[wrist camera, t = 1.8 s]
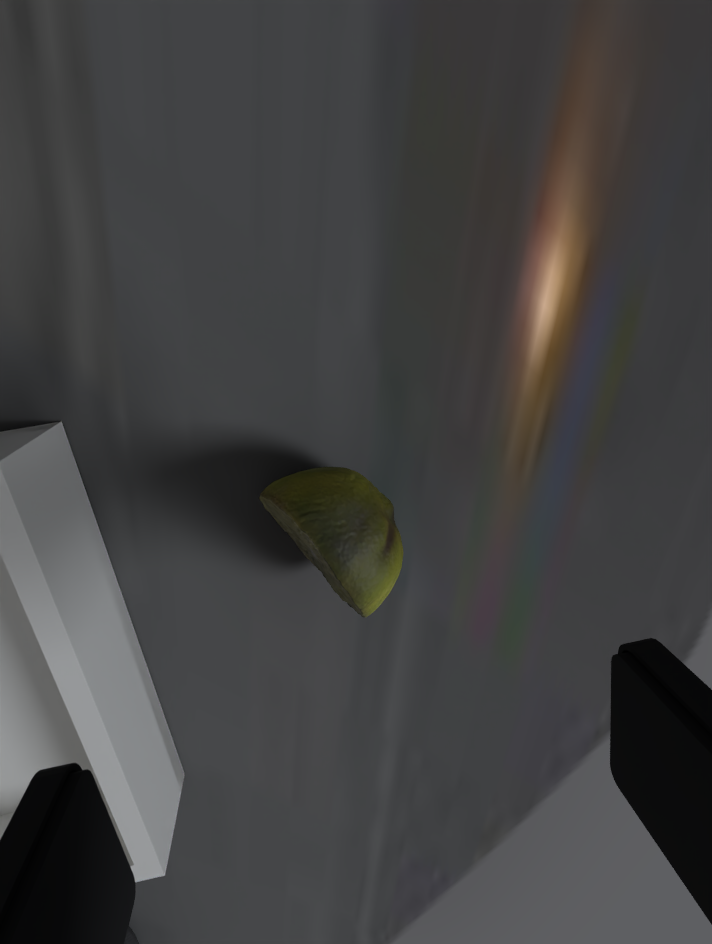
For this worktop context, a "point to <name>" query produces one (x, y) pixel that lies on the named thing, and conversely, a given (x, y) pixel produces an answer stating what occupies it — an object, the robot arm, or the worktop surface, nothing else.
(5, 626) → the bin
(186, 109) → the worktop surface
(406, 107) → the worktop surface
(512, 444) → the worktop surface
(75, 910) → the robot arm
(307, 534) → the lime
